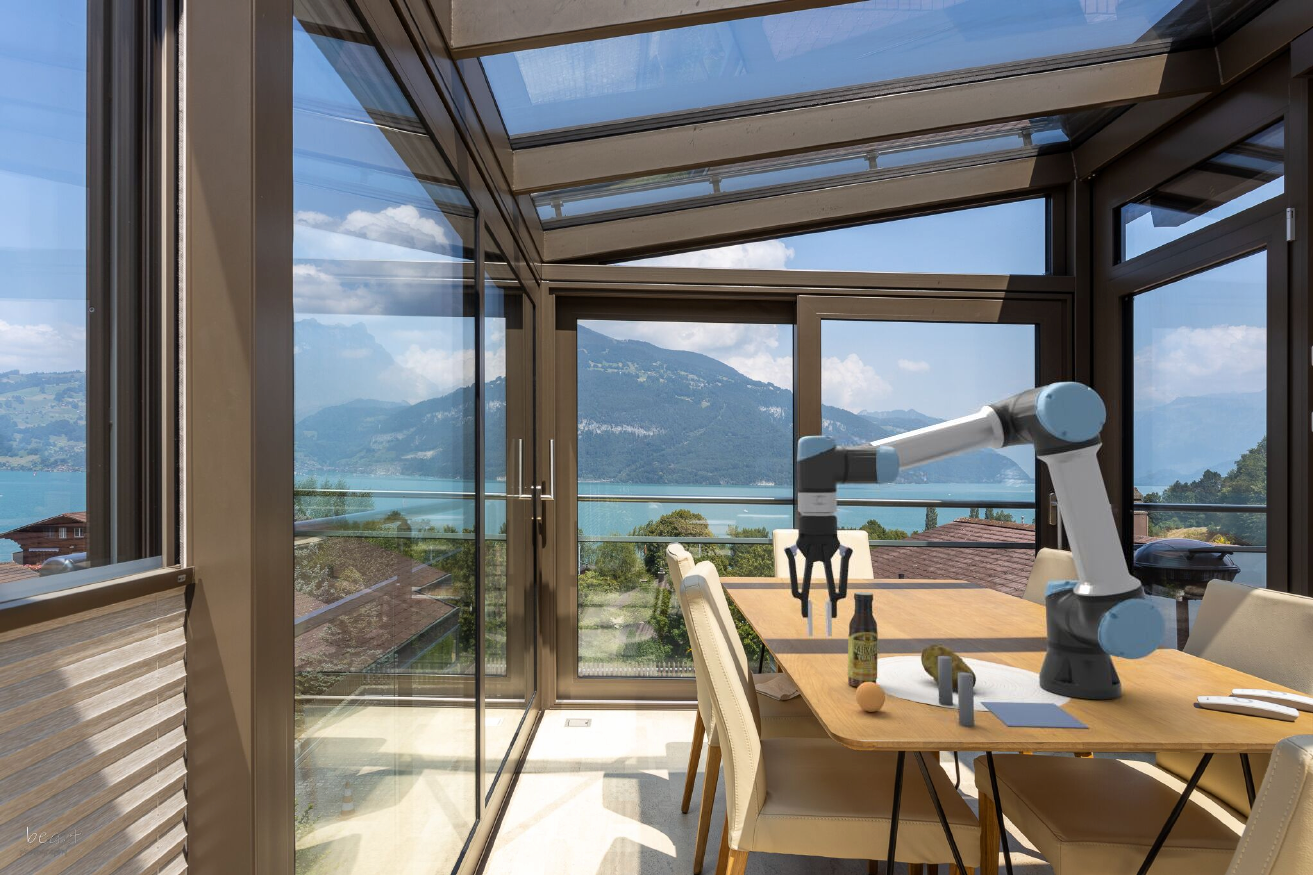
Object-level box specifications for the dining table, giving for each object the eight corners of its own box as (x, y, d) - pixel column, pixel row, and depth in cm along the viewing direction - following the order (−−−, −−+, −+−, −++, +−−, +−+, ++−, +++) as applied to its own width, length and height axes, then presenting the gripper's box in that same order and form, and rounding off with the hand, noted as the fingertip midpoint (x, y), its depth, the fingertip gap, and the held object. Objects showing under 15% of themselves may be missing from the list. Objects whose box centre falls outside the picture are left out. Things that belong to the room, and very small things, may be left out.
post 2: (971, 721, 136) (970, 672, 136) (976, 726, 133) (975, 676, 134) (957, 721, 136) (955, 672, 136) (961, 726, 133) (960, 676, 134)
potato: (941, 694, 153) (941, 655, 153) (916, 678, 165) (915, 642, 166) (980, 694, 153) (979, 655, 154) (952, 677, 166) (951, 641, 166)
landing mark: (1053, 704, 146) (1053, 703, 146) (1088, 728, 132) (1088, 727, 132) (980, 702, 147) (980, 701, 147) (1007, 726, 133) (1007, 725, 133)
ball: (881, 707, 145) (881, 678, 145) (888, 716, 139) (887, 686, 140) (853, 706, 145) (852, 678, 145) (858, 715, 140) (858, 686, 140)
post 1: (950, 701, 148) (949, 655, 149) (954, 705, 146) (953, 659, 146) (937, 700, 148) (936, 655, 149) (941, 704, 146) (939, 658, 146)
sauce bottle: (852, 689, 157) (850, 595, 158) (844, 681, 163) (842, 590, 164) (883, 689, 157) (881, 595, 158) (873, 680, 163) (871, 590, 164)
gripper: (777, 515, 142) (779, 638, 141) (862, 515, 141) (864, 639, 139) (775, 513, 150) (776, 630, 148) (855, 513, 148) (857, 631, 147)
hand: (819, 634), depth 144 cm, fingers open, 3 cm apart
